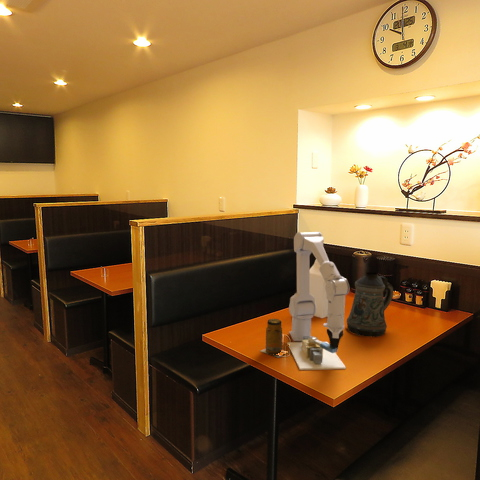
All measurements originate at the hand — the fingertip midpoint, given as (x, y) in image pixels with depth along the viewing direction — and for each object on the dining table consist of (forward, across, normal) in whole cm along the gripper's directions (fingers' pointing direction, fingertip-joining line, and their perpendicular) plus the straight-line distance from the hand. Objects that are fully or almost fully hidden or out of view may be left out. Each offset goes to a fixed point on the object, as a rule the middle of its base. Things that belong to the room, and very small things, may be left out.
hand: (333, 349), depth 144 cm
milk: (+6, -55, -5) cm, 55 cm away
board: (+5, -5, -7) cm, 9 cm away
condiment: (+5, -5, -21) cm, 22 cm away
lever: (-1, -1, -4) cm, 4 cm away
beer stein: (+6, -37, +15) cm, 40 cm away
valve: (+5, -4, -8) cm, 10 cm away
